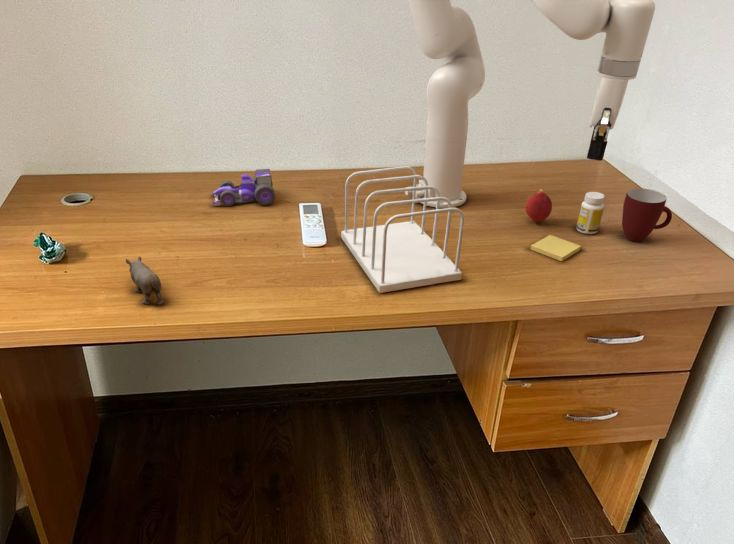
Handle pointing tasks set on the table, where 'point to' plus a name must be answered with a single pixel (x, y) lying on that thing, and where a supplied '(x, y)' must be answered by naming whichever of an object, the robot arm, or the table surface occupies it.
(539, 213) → the onion
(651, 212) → the mug
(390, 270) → the file sorter
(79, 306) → the table surface
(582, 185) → the table surface
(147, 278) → the rhino figurine
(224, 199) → the toy race car
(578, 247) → the sticky note pad
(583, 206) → the supplement bottle
